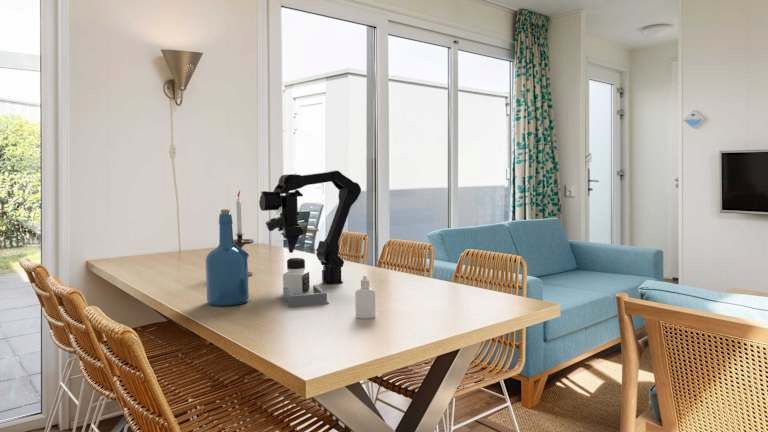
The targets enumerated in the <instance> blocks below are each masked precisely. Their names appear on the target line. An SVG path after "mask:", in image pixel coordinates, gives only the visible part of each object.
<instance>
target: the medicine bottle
mask: <svg viewBox="0 0 768 432" xmlns="http://www.w3.org/2000/svg"><path fill="white" fill-rule="evenodd" d="M286 268H287V269H286V270H287V272H285V273H283V274H282V283H283V284H282V289H283V288H286V287H287V288H288V290H289V291H290V292H291V293H292V294H293V295H303V294H308V292H310V289H311V288H310V286H311V285H310V271H309V270H306V261H305V259H304V258H302V257H292V258H289V259H287V260H286Z"/></svg>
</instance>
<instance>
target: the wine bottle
mask: <svg viewBox="0 0 768 432" xmlns="http://www.w3.org/2000/svg"><path fill="white" fill-rule="evenodd" d="M218 217H219V218H218V225H219V229H218V230H219V232H218V233H219V234H218V235H219V241H218V242H219V243H218V246H217V247H215V248H213V249H211V250H210V251H209V252H208V254H207V256H206V258H205V275H206V276H205V277H206V278H205V279H206V282H205V283H206V301H207V303H208V304H209V305H211V306H216V307H232V306H236V305H237V306H238V305H242V304H244V303H247V302H248V301H249V298H250V291H249V289H250V288H249V287H250V285H249V277H248V272H249V257H250V254H249V253H248V252H247V251H246V250H244V248H242V249H241V248H240V247H239V246H237V245H236V244H235V243H233V240H234V231H233V225H234V224H233V216H232V213H231V212H230V209H228V208H225V209H221V210H220V213H219V216H218Z"/></svg>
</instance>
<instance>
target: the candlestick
mask: <svg viewBox="0 0 768 432" xmlns="http://www.w3.org/2000/svg"><path fill="white" fill-rule="evenodd" d="M238 190H239V191H238V193H237V200H236V201H235V204H236V208H235V209H236V234H235V233H234V235H235V236H236V239H233V243H235V244H236V245H237V246H239V247H240V248H241V249H243V247H244V246H245V245H251V244H254V239H251V238H250V239H249V238H243V235H245V233H243V224H242V223H243V222H242V219H243V218H242V201H241V200H240V194H241V190H240V189H238ZM249 276H250V277H253V272H252V271H248V278H249Z"/></svg>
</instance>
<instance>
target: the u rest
mask: <svg viewBox="0 0 768 432" xmlns="http://www.w3.org/2000/svg"><path fill="white" fill-rule="evenodd" d="M281 299H282V300H283V302H284V304H286V306H287V307H288V308H296V307H297V308H298V307H308V306H309V307H310V306H318V305H329V304H330V303H329V301H328V294H327V292H326V291H325V290H324V289H322V288H321V287H320V286H319V285H318V284H315V285H314V284H313V292H312V293H305V294H303V295H293V294H292V293H291V292H290V291H289V290H288V288H287V287H286V288H283V287H282V296H281Z"/></svg>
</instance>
